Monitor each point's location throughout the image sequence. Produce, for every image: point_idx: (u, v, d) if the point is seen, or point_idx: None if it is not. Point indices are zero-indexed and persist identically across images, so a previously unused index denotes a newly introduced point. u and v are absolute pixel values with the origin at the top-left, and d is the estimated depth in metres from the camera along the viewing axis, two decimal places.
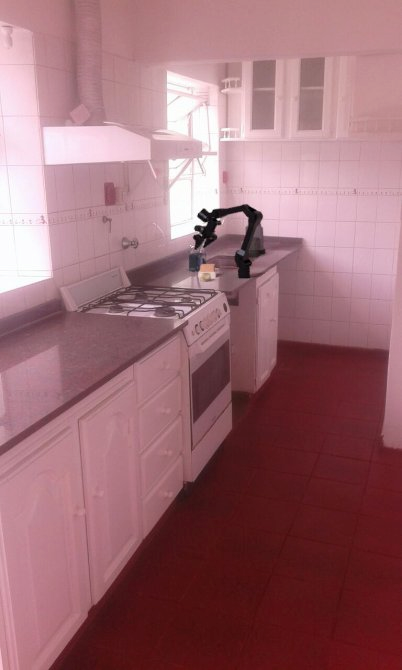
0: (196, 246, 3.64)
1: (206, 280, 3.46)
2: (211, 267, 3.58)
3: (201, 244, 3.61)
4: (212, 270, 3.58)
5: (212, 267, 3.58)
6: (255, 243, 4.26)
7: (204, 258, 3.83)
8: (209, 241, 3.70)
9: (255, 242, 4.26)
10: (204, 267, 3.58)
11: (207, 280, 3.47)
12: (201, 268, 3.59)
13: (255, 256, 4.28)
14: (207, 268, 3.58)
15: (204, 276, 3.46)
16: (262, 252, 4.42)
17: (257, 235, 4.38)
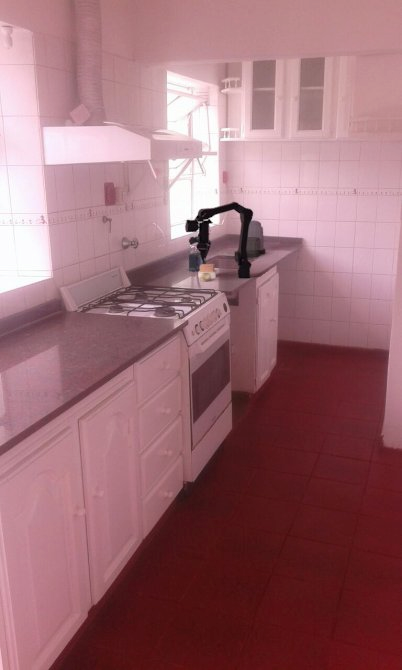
0: (203, 255, 3.41)
1: (206, 280, 3.46)
2: (210, 267, 3.58)
3: (207, 250, 3.40)
4: (211, 270, 3.58)
5: (211, 267, 3.58)
6: (255, 243, 4.26)
7: None
8: None
9: (255, 242, 4.26)
10: (203, 267, 3.58)
11: (207, 280, 3.47)
12: (200, 268, 3.59)
13: (255, 256, 4.28)
14: (206, 268, 3.58)
15: (204, 276, 3.46)
16: (262, 252, 4.41)
17: (257, 235, 4.38)
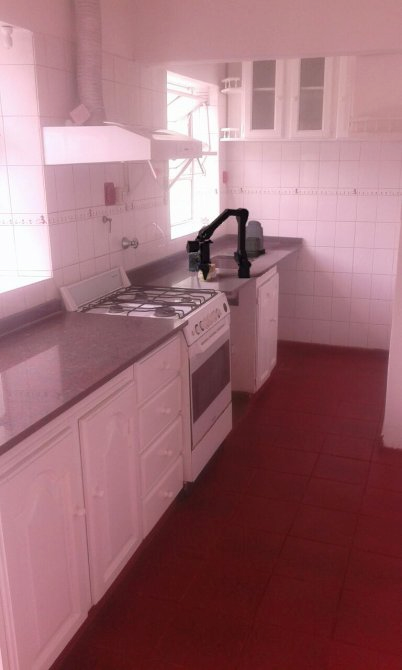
0: (205, 275, 3.44)
1: (206, 280, 3.46)
2: None
3: (209, 269, 3.43)
4: (212, 270, 3.58)
5: (212, 267, 3.58)
6: (255, 243, 4.26)
7: None
8: None
9: (255, 242, 4.26)
10: None
11: (207, 280, 3.46)
12: None
13: (255, 256, 4.27)
14: None
15: None
16: (262, 252, 4.41)
17: (257, 235, 4.37)
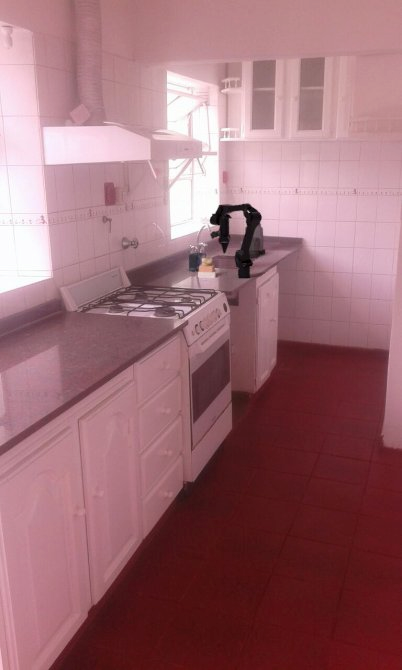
0: (224, 249, 3.60)
1: (208, 264, 3.59)
2: (209, 267, 3.58)
3: (228, 243, 3.58)
4: (211, 270, 3.58)
5: (211, 267, 3.58)
6: (255, 243, 4.25)
7: None
8: None
9: (255, 242, 4.24)
10: (203, 267, 3.58)
11: (209, 264, 3.59)
12: (200, 268, 3.59)
13: (255, 256, 4.26)
14: (206, 268, 3.58)
15: (206, 260, 3.58)
16: (262, 252, 4.40)
17: (257, 235, 4.36)
